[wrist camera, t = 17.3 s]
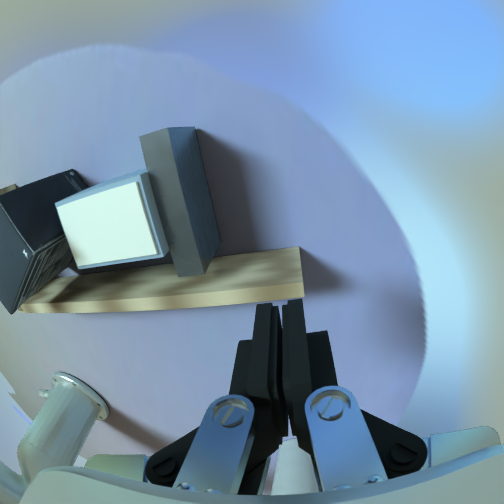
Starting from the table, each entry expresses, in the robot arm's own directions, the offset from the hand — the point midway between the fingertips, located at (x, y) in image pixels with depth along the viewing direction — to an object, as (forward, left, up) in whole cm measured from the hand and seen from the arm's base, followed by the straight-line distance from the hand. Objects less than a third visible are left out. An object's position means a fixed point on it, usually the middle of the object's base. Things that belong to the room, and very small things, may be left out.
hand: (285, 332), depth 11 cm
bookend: (-7, +4, -15) cm, 16 cm away
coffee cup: (-2, -39, -15) cm, 42 cm away
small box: (-22, +4, -15) cm, 27 cm away
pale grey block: (-12, +4, -15) cm, 19 cm away
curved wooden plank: (-15, +3, -15) cm, 21 cm away
